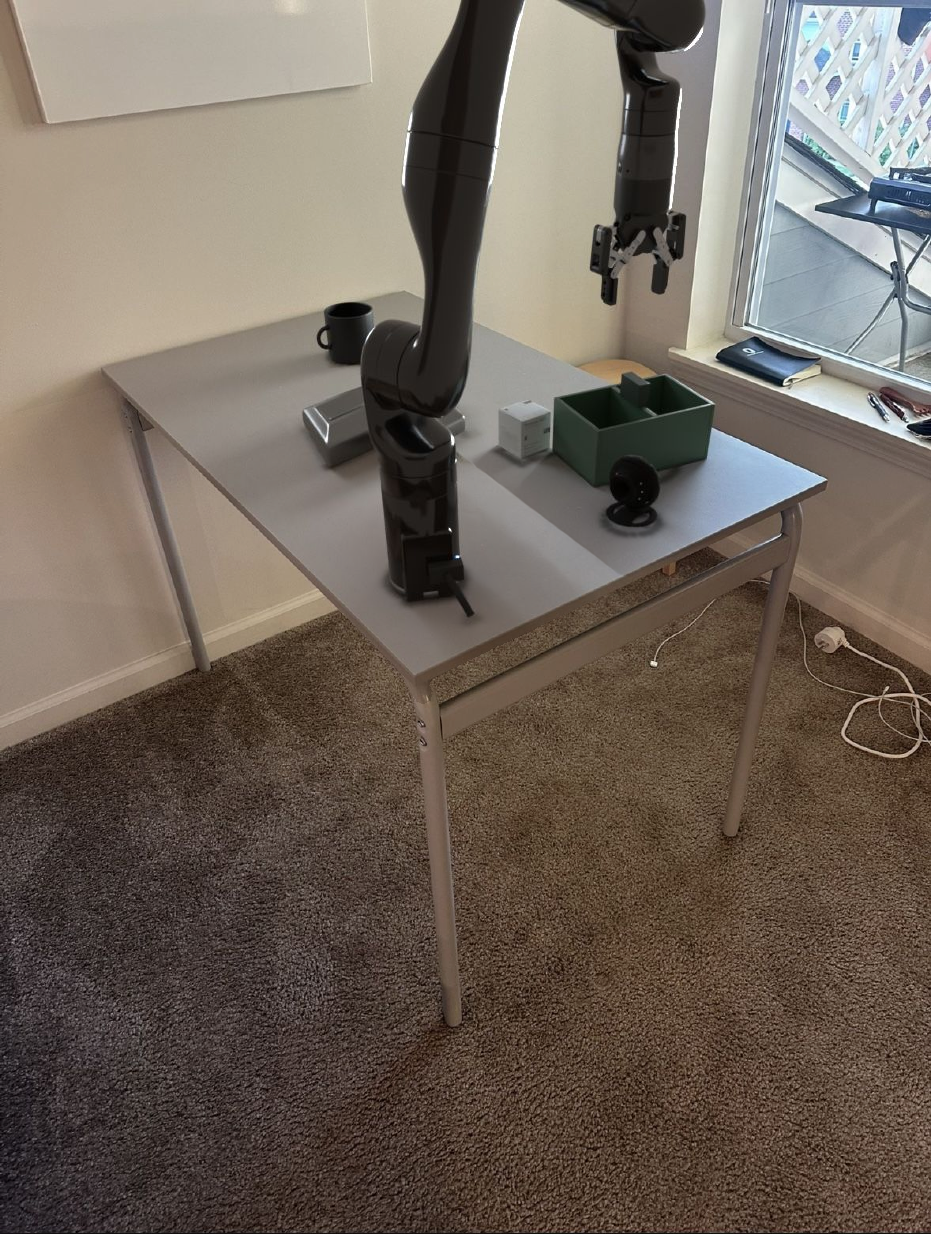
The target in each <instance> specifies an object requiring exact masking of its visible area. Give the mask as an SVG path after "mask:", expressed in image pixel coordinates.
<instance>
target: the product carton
mask: <svg viewBox="0 0 931 1234" xmlns="http://www.w3.org/2000/svg"><path fill="white" fill-rule="evenodd" d="M497 412H498V415H497V417H498V420H497V421H498V424H497V425H498V427H497V428H498V430H497V431H498V436H497V438H498V439H497V440H498V445H497V446H499V447H500V448H502V449H504V450H506V451H507V452H509V453H511V454H512V455H514V456H516V457H518V458H519V459H523V458H526V457H528V456H531V455H533V454H537V453H539V452H542V451H545V450H547V449H551V425H552V424H551V423H552V411H551V410H550V409H547V407H544V406H542V405H540V404H538V403H536V402H534V401H531V400H530V399H526V400H523V401H519V402H516V403H512V404H510V405H507V406H505V407H502V408H498V411H497Z"/></svg>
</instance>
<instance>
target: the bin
mask: <svg viewBox="0 0 931 1234" xmlns="http://www.w3.org/2000/svg"><path fill="white" fill-rule="evenodd" d="M620 377H621V378H620V383H614V384H610V385H606V386H601V387H597V388H592V389H587V390H582V391H578V392H574V393H568V394H564V395H560V396H555V397H553V412H552V413H553V414H552V415H553V419H552V440H551V441H552V445H551V446H552V447H551V451H552V453H553V454H555V455H556V456H557V457H558V458H559V459H561V460H562V461H563V462H564V463H565V464H566V465H567V466H569V468H571V470H573V471H574V472H575V473H577V475H579V476H580V477H581V478H582V479H584V480H585V482H587V483H588V484H589V485H590V486H591V487H593V488H598V487H603V486H607V485H610V471H611V468H612V466H613V464H614V463H615V462H616V461H617V460H618V459H619V458H620V457H622V456H625V455H637V456H641V457H643V458H644V459H646V460H647V461H648V462H649V463H650V464H652V465H653V466H654V468H655V470H656V471H657V472H662V471H665V470H669V469H672V468H675V467H680V466H684V465H688V464H692V463H696V462H700V461H703V460H707V459H708V454H709V449H710V448H709V447H710V443H711V442H710V441H711V435H712V429H713V422H714V417H715V415H714V414H715V410H716V409H715V408H716V403H714V402H713V401H711V400H709V399H708V398H706V397H704V396H703V395H701V394H700V393H698V392H696V391H694V389H691V388H690V387H688V386H687V385H685V384H683V383H682V382H680V381H679V380H677V379H676V378H674V377H672V376H670V375H669V374H667V373H666V372H665V373H661V374H656V375H652V376H651V375H650V376H647V377H641V376H639V375H638V374H637V373H635V372H633V371H627V372H623V373H621V376H620Z"/></svg>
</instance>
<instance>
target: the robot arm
mask: <svg viewBox="0 0 931 1234" xmlns="http://www.w3.org/2000/svg"><path fill="white" fill-rule="evenodd" d="M526 1H527V0H460V3H459V6H458V10H457V14H456V16H455V19H454V22H453V25H452V27H451V30H450V32H449V34H448V36H447V38H446V40H445V42H444V44H443V46H442V47H441V50H440V51H439V53H438V55H437V57H436V58H435V60H434V61H433V63H432V65H431V67H430V69H429V71H428V73H427V74H426V76H425V78H424V80H423V82H422V83H421V86H420V88H419V90H418V92H417V93H416V97H415V99H414V101H413V103H412V107H411V110H410V114H409V118H408V123H407V127H406V132H407V133H406V135H405V143H404V151H403V159H402V166H401V177H400V178H401V179H400V181H401V183H400V185H401V186H400V187H401V194H402V200H403V201H402V202H403V204H404V210H405V213H406V217H407V219H408V223H409V226H410V229H411V232H412V235H413V239H414V242H415V244H416V248H417V251H418V254H419V255H418V256H419V258H420V262H421V266H422V271H423V281H424V282H423V283H424V284H423V285H424V289H423V290H424V292H423V293H424V294H423V307H422V318H421V324H419V323H415V322H411V321H408V320H404V319H399V318H389V319H385V320H382V321H380V322H379V323H377V324H376V325H374V328H373V329H372V330H371V331H370V333H369V334H368V336H367V338H366V341H365V343H364V346H363V350H362V355H361V362H360V364H359V365H360V370H359V374H360V385H361V386H362V393H363V399H364V405H365V412H366V418H367V424H368V431H369V436H370V439H371V442H372V444H373V446H374V448H373V449H375V452H376V454H377V459H378V468H379V480H380V491H381V501H382V511H383V521H384V522H383V523H384V531H385V532H384V533H385V544H386V554H387V561H388V581H389V582H388V583H389V585H390V587H391V588H392V589H393V591H394V592H396V593H398V594H399V595H401V596H404V597H405V599H406V602H414V601H420V600H421V601H422V600H428V599H436V598H443V597H449V596H454V597H455V599H456V600H457V602H458V603H459V605H460V606H461V608H462V610H463V612H464V613H465V615H466V617H467V618H470V617H472V616H474V615H475V611H474V610H473V608H472V606H471V605H470V603H469V602H468V599H467V597H466V596H465V595H464V593H463V591H462V590H461V588H460V587H459V585H460V583H461V582H462V581H465V565H464V561H463V559H462V557H461V549H460V521H459V496H458V468H457V467H458V465H457V464H458V463H457V443H456V439H455V436H453V434H452V433H451V431H450V430H449V429H448V428H447V427H446V426H444V425H443V424H442V423H441V422H440V421H439V420H438V419H437V418H442V417H445V416H447V415H448V414H449V413H451V412H452V411H453V410H454V408H455V407H458V405H459V403H460V401H461V399H462V396H463V394H464V393H465V389H466V385H467V381H468V377H469V373H470V365H471V357H472V348H473V347H472V345H473V333H474V321H475V319H474V318H475V304H476V292H477V281H478V275H479V274H478V272H479V266H480V259H481V258H480V257H481V251H482V245H483V244H482V243H483V236H484V229H485V224H486V217H487V211H488V207H489V201H490V196H491V192H492V187H493V181H494V175H495V174H494V173H495V169H496V162H497V156H498V150H499V143H500V135H501V126H502V121H503V114H504V107H505V101H506V95H507V91H508V86H509V79H510V75H511V69H512V64H513V63H512V62H513V59H514V55H515V54H514V53H515V48H516V43H517V38H518V34H519V30H520V25H521V21H522V17H523V13H524V8H525V5H526ZM556 2H559V3H561V4H563V5H564V6H566V7H567V8H569V9H572V10H573V11H575V12H576V13H578V14H580V15H582V16H583V17H585V18H587V19H589V20H590V21H592V22H594V23H596V24H598V25H599V26H601V27H604V28H606V29H610V30H613V36H614V45H615V49H616V56H617V57H616V58H617V63H618V68H619V69H618V70H619V76H620V81H621V88H622V108H621V122H620V123H621V124H620V134H619V140H618V146H617V150H616V151H617V153H616V162H615V176H614V177H615V179H614V189H613V190H614V192H613V193H614V194H613V203H612V204H613V211H614V214H615V218H614V221H613V223H612V225H602V224H597V223H596V224H595V226H593V232H592V241H591V252H590V259H589V271H590V272H592V273H595V274H597V275H598V276H601V282H600V283H601V286H600V299H601V300H602V302H603V304H605V305H607V306H610V307H612V306H616V305H617V301H618V288H619V277H618V276H619V274H620V273H621V270H622V269H623V268H624V266H625V265H627V264H628V263H629V262H630V261H631V259H632V257H638V256H640V255H642V254H646V255H648V254H651V256H652V258H653V260H654V262H655V263H654V264H652V265H653V266H652V273H651V275H652V276H651V284H650V285H651V286H650V291H651V293H653V294H656V295H658V296H659V295H664V294H665V293H666V289H667V288H668V284H669V275H670V267H671V266H672V264H673V263H674V262H675V261H676V260H679V261H680V260H682V259H683V258H684V254H685V253H684V252H685V240H686V229H687V228H686V227H687V214H685V213H682V212H680V211H676V210H671V209H672V204H673V196H674V186H675V178H676V177H675V176H676V168H677V167H676V166H677V158H678V130H679V122H680V121H679V119H680V110H681V103H682V85H681V83H680V81H679V80H678V79H677V78H676V77H674V76H672V75H669V74H667V73H665V72H663V71H662V70H661V69H660V67H659V64H658V60H657V54H671V55H672V54H680V53H683V52H685V51H687V50H688V49H690V48H691V47H693V46H694V45H695V43H696V42H697V41H698V40H699V38H700V37H701V35H702V33H703V31H704V27H705V24H706V20H707V19H706V17H707V8H706V2H705V0H556ZM656 53H657V54H656ZM665 232H666V235H665V237H664V234H665ZM620 250H621V252H622V253H620V252H619V251H620Z"/></svg>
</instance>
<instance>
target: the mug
mask: <svg viewBox="0 0 931 1234" xmlns="http://www.w3.org/2000/svg"><path fill="white" fill-rule="evenodd" d="M323 316H324V324H325V325H323V326H322V327H321V328H319V329H318V331H317V333H316V343H317V345H318V346H319V347H320V349H322V350H326V351H328V356H329V358H330V359H331V360H332V361H333V362H336V363H340V364H348V365H349V364H350V365H351V364H359V363H360V364H361V355H362V350H363V346H364V343H365V341H366V338H367V336H368V334H369V333H370V331H371V330H372V329H373V328H374V327H375V321H374V320H375V318H374V308H373V306H372V305H370V304H369V303H365V302H361V301H345V302H339V303H338V302H337V303H334V304H331V305H329V306H327V307H326V308H325V309H324V310H323ZM324 332H325V333H326V334H325V335H326V341H327V344H324V343H323V342H322V335H323V333H324Z"/></svg>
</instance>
